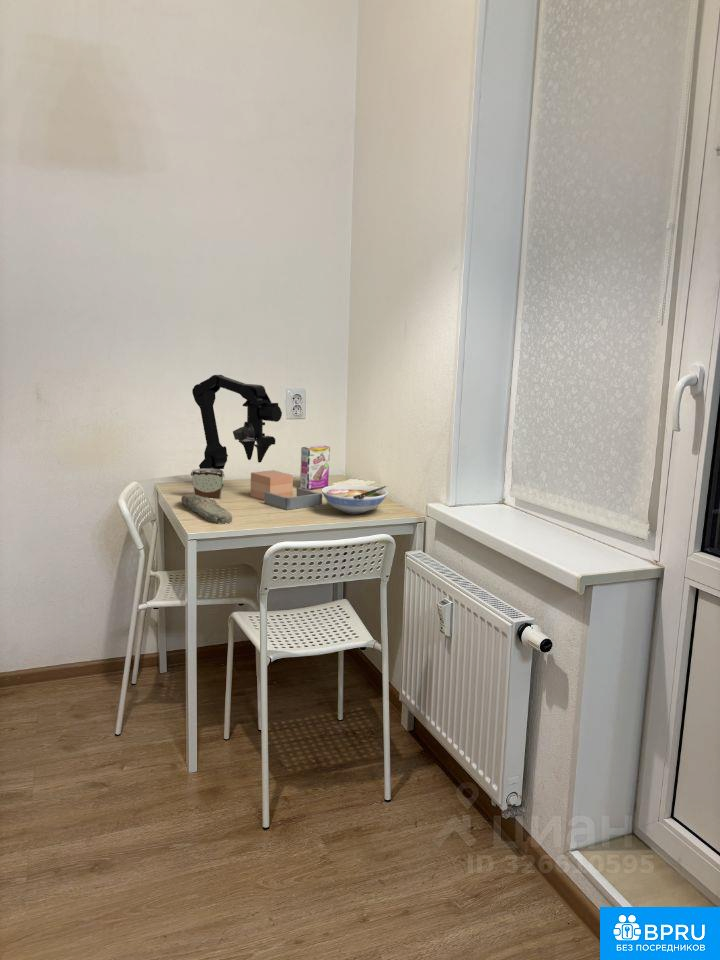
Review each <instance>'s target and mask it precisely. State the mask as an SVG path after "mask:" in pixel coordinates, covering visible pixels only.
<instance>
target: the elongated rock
mask: <svg viewBox="0 0 720 960" xmlns="http://www.w3.org/2000/svg"><path fill="white" fill-rule="evenodd" d="M181 503H182V504H184V506H185V507H186V508H187V510H189V509H190V510H189V511H192V512H193V511H194V513H196V512H197V513H196V514H197V515H198V516H200V515H201V516H200V517H202V518H204V519H205V518H206V519H205V520H206V521H208V520H209V521H208V522H211V523H214V522H215V523H214V524H218V523H221V524H220V525H223V524H224V525H226V524H225V523H228V524H230V522H231V523H232V521H233V515H232V513H231V512H229V511H228V510H226V509H225V508H224V507H222V506H220V504H218V502H216V499H210V498H208V497H202V496H198V495H194V493H186V494H184V495H182V496H181ZM222 523H223V524H222Z"/></svg>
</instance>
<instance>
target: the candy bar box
mask: <svg viewBox="0 0 720 960" xmlns="http://www.w3.org/2000/svg"><path fill="white" fill-rule="evenodd" d="M330 451H331V447H330V446H327V445H311V446H310V445H309V446H302V447H301V451H300V452H301V453H300V454H301V455H300V475H299V488H302V489H306V490H310V491H312V490H318V489H323V488H324V487H328V486H329V473H330V472H329V471H330Z"/></svg>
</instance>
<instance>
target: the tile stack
mask: <svg viewBox="0 0 720 960" xmlns="http://www.w3.org/2000/svg"><path fill="white" fill-rule="evenodd" d="M293 479H294V475H293V474H292V473H291V474H290V473H286V472H282V471H278V470H274V469H270V470H264V471H263V470H262V471H255V472H254V471H253V472H251V473H250V497H251V496H253V497H252V498H254V497H256V498H255V499H258V498H259V499H258V500H261V499H263V500H262V501H264V500H265V492H270V493H273V494H277V495H280V496H284V497H287V498H289V497H293V494H294V493H293V492H294V491H293V487H294V485H293V484H294V480H293Z"/></svg>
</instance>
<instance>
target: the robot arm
mask: <svg viewBox="0 0 720 960" xmlns="http://www.w3.org/2000/svg"><path fill="white" fill-rule="evenodd" d="M221 388H222V389H225V390H228V391H231V392H234V393H237V394H239V395H240V396H241V398H243V399H245V400H246V401H245V402H244V403H242V407H247V408H246V411H247V414H246V415H247V416H246V420H247V421H244V423H243V426H241V427H239V428H236V429H235V430H233V431H232V435H233V437H234V440H235V441H236V440H237V441H238V442H239V443H240V444H241V445H242V446H243V449H244V451H245V454H246V458H247V460H248V461H251V460H252V458H253V454H254V449H256V454H257V455H256V456H257V457H256V458H257V463H258V464H259V463H262V462H263V459H264V457H265V455H266V453H267V451H268V449H269V448H270V447H271V446H273V445H274V446H275V445H276V438H275V437H274V436H271V435H266V433H264V432H263V431H264V430H263V427H264V426H266V422H273V423H275V422H276V423H277V422H279V421H280V420H281V419H282V415H283V411H282V410H281V409H282V408H281V407H280V406H279V403H278V402H272V400H271V399H270V397H269V395H268V393H267V392H266V389H265V386H264V385H262V384H251V383H246V382H245V383H244V382H242V381H239V380H236V379H233V378H230V377H226V376H225V375H222V374H214V375H211V376H210V377H208V378H207V379H205V380H203V381H202V382H199V383H198V384H195V385H194V386H193V388H192V396H193V399H194V402H195V403H196V404H197V406H198V407H199V409H200V414H201V421H202V425H203V431H204V436H205V442H206V446H205V449H204V452H203V453H204V454H203V455H204V459H203V460H202V461H201V462H200V463H199V465H198V467H199V469H219V470H224V469H225V466H226V463H227V462H228V457H229V455H228V452H227V450H228V449H227V447H226V446H223V445H222V444H221V442H220V438H219V432H218V426H217V421H216V416H215V414H216V413H215V411H214V404H215V402H216V393H217V392H219V391H220V389H221ZM265 421H266V422H265ZM223 486H224V484H223V483H222V487H223Z"/></svg>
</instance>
